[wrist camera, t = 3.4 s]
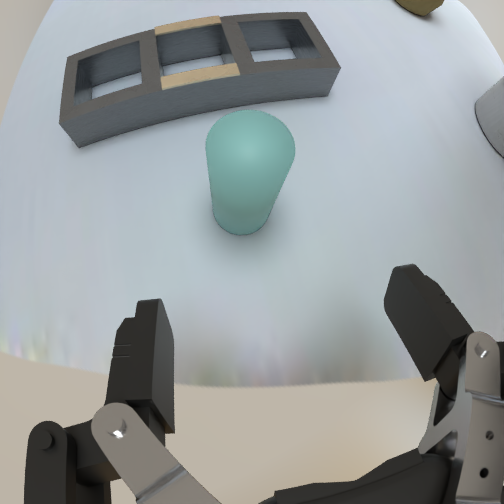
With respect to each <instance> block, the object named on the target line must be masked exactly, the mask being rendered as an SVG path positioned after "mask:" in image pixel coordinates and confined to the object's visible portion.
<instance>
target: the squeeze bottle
mask: <svg viewBox="0 0 504 504" xmlns="http://www.w3.org/2000/svg"><path fill="white" fill-rule="evenodd" d="M396 1H397V2H398V3H399V4H400V5H401V6H403V7H404V8H406V9H407V10H409V11H411V12H413V13H415V14H418V15H420V16H425V15H427V14H428V13H430V12H431V11H433V10H435V9H436V8H438V7H439V6H441V5H442V4H443V2H444V0H396Z"/></svg>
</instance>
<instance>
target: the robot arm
mask: <svg viewBox="0 0 504 504" xmlns="http://www.w3.org/2000/svg"><path fill="white" fill-rule="evenodd" d="M475 108H476V114H477V118H478V121H479V123H480V126H481V128H482V130H483V132H484V133H485V135H486V137H487V138H488V140H489V141H490V143H491V144H492V145H493V147H494V148H495V149H496V150H497V151H498V152H499V153H500V154H501V155H502V156H503V157H504V76H503V77H502V78H501V79H500V80H499V81H498V82H497V83H496V84H495V85H493V86H492V87H491V88H490V89H489V90H488V91H487V92H486V93H485V94H484V95H483V96H481V97H480V98H479V99H478V100H477V102H476V106H475ZM384 308H385V312H386V314H387V316H388V317H389V319H390V321H391V322H392V324H393V326H394V328H395V329H396V331H397V333H398V334H399V336H400V338H401V340H402V341H403V343H404V345H405V347H406V348H407V350H408V352H409V354H410V356H411V357H412V359H413V361H414V363H415V365H416V366H417V368H418V370H419V372H420V374H421V376H422V378H423V379H424V381H425V382H426V381H428V380H431V379H433V378H436V379H437V381H438V382H437V384H436V386H435V390H434V396H433V401H432V407H431V412H430V417H429V422H428V426H427V430H426V433H425V435H424V437H423V438H422V440H421V442H420V444H419V446H418V448H416V449H414V450H411V451H409V452H406V453H404V454H402V455H399V456H397V457H394V458H392V459H389V460H387V461H385V462H384V463H382V464H381V465H379V466H378V467H377V468H375V469H373V470H372V471H370V472H369V473H367V474H366V475H364V476H362V477H361V478H359V479H357V480H355V481H349V482H332V483H312V484H307V485H303V486H298V487H294V488H288V489H283V490H278V491H275V493H274V496H273V497H271V498H268V499H266V500H264V501H262V502H261V503H259V504H504V486H503V481H504V342H496V341H495V340H494V339H493V338H492V337H491V336H490V335H488V334H486V333H484V332H474V331H473V329H472V328H471V327H470V325H469V324H468V323H467V321H466V320H465V318H464V317H463V316H462V314H461V313H460V312H459V310H458V309H457V308H456V306H455V305H454V304H453V303H451V300H450V298H449V297H448V296H447V295H445V292H444V291H443V290H442V288H441V287H440V286H439V285H438V283H436V282H435V281H434V280H432V279H431V278H429V277H428V276H427V275H424V274H423V273H422V272H421V271H420V269H419V268H418V267H417V266H416V265H415V264H409V265H403V266H397V267H395V268H394V269H393V271H392V274H391V277H390V281H389V284H388V287H387V291H386V294H385V297H384ZM114 345H115V347H114V349H113V354H112V356H113V358H112V360H111V367H110V373H109V380H108V387H107V394H106V400H105V404H104V406H103V407H102V408H100V409H99V410H98V411H97V412H96V414H95V415H94V417H93V419H91V420H89V421H87V422H84V423H81V424H77V425H74V426H70V427H66V428H62V427H61V426H60V425H59V424H57V423H55V422H53V421H44V422H41V423H39V424H38V425H36V426H35V427H34V428H33V429H32V431H31V433H30V435H29V439H28V446H27V457H26V468H25V485H24V504H111V489H110V481H113V480H117V479H121V478H122V479H123V481H124V482H125V483H126V484H127V486H128V487H129V488H130V490H131V491H132V492H133V494H134V495H135V497H136V503H137V504H221V503H220V502H219V501H218V500H217V499H216V498H215V497H213V496H212V495H211V494H210V493H209V492H208V491H207V490H206V489H205V488H204V487H203V486H202V485H201V484H200V483H199V482H198V481H197V480H196V479H195V478H194V477H193V476H191V474H189V472H188V471H187V470H186V469H185V468H184V467H183V466H182V465H181V464H180V463H179V462H178V461H177V460H176V459H175V458H174V457H173V455H172V454H171V453H170V452H169V451H168V450H167V449H166V448H165V434H170V433H175V426H174V339H173V333H172V329H171V326H170V323H169V320H168V317H167V314H166V311H165V308H164V305H163V302H162V300H161V299H151V300H141V301H138V303H137V307H136V313H135V317H133V318H125V319H124V321H123V322H122V324H121V325H120V327H119V328H118V330H117V332H116V338H115V343H114Z"/></svg>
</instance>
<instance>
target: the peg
mask: <svg viewBox="0 0 504 504" xmlns="http://www.w3.org/2000/svg"><path fill="white" fill-rule="evenodd" d="M206 156H207V165H208V173H209V181H210V189H211V197H212V205H213V212H214V216H215V219H216V221H217V222H218V224H219V225H220V226H221V227H222V228H223V229H224V230H226V231H227V232H229V233H232V234H236V235H247V234H251V233H253V232H255V231H257V230H259V229H260V228H261V227H262V226H263V225H264V223H265V222H266V220H267V218H268V216H269V214H270V211H271V209H272V207H273V205H274V203H275V200H276V198H277V196H278V194H279V192H280V189H281V187H282V185H283V183H284V181H285V178H286V176H287V174H288V172H289V170H290V167H291V165H292V163H293V160H294V157H295V143H294V139H293V136H292V134H291V132H290V131H289V129H288V128H287V127H286V126H285V124H284V123H283V122H281V121H280V120H279V119H277V118H276V117H274V116H272V115H270V114H268V113H265V112H262V111H257V110H240V111H236V112H232V113H230V114H228V115H225V116H224V117H222V118H221V119H219V120H218V121H217V122H216V123H215V124H214V125H213V127H212V128H211V129H210V131H209V133H208V136H207V139H206Z"/></svg>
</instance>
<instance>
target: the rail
mask: <svg viewBox="0 0 504 504" xmlns="http://www.w3.org/2000/svg"><path fill="white" fill-rule="evenodd" d="M154 28H155V29H152V30H148V31H144V32H140V33H137V34H133V35H130V36H126V37H123V38H119V39H116V40H113V41H110V42H107V43H104V44H101V45H98V46H95V47H92V48H90V49H87V50H84V51H82V52H79V53H76V54H74V55H71V56H69V57H67V62H66V68H65V75H64V82H63V89H62V98H61V107H60V119H59V124H60V125H61V127H62V128H63V129H64V130H65V132H66V133H67V134H68V135H69V136H70V138H71V139H72V140H73V141H74V143H75V144H76V145H77V146H78V147H82V146H85V145H88V144H91V143H94V142H97V141H100V140H103V139H106V138H109V137H112V136H115V135H118V134H122V133H125V132H128V131H132V130H135V129H139V128H142V127H146V126H150V125H153V124H157V123H161V122H165V121H169V120H173V119H177V118H182V117H186V116H191V115H195V114H200V113H205V112H210V111H215V110H220V109H226V108H231V107H237V106H243V105H250V104H257V103H264V102H271V101H279V100H288V99H298V98H309V97H321V96H328V94H329V92H330V90H331V88H332V86H333V84H334V81H335V79H336V77H337V75H338V73H339V71H340V69H341V67H340V65H339V64H338V62H337V60H336V58H335V57H334V55H333V53H332V52H331V50H330V48H329V47H328V45H327V43H326V42H325V40H324V39H323V37H322V35H321V34H320V32H319V31H318V29H317V28H316V26H315V25H314V23H313V21H312V20H311V18H310V17H309V16H308V14H307V13H306V12H278V13H257V14H243V15H233V16H224V17H219V16H212V17H205V18H198V19H192V20H187V21H181V22H176V23H171V24H167V25H162V26H158V27H154ZM277 48H292V50H293V52H294V54H295V56H296V58H297V59H286V60H273V61H262V62H254V60H253V58H252V55H251V53H250V51H254V50H264V49H277ZM215 55H221V56H222V59H223V62H224V65H218V66H212V67H207V68H201V69H196V70H191V71H186V72H181V73H176V74H172V75H168V76H163V69H162V66H164V65H169V64H173V63H178V62H182V61H187V60H192V59H198V58H203V57H209V56H215ZM137 72H141V73H142V84H140V85H136V86H133V87H129V88H126V89H122V90H119V91H116V92H113V93H110V94H107V95H104V96H101V97H98V98H95V99H92V100H91V97H92V87H93V86H96V85H99V84H102V83H105V82H108V81H111V80H114V79H117V78H120V77H124V76H127V75H130V74H134V73H137Z"/></svg>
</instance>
